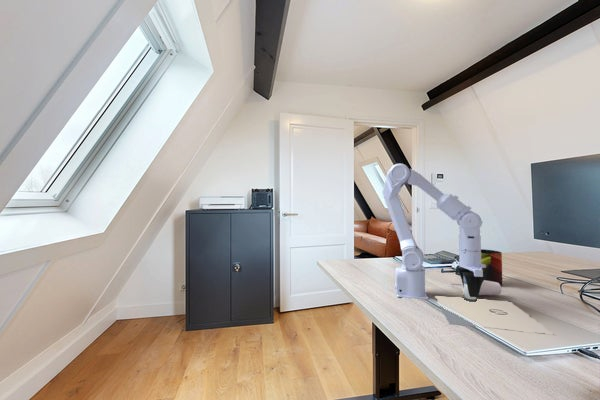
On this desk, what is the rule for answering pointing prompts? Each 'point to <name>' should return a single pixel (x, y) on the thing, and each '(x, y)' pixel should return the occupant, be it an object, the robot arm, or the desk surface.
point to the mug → (492, 265)
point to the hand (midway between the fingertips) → (471, 293)
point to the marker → (466, 294)
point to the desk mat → (457, 318)
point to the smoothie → (486, 288)
